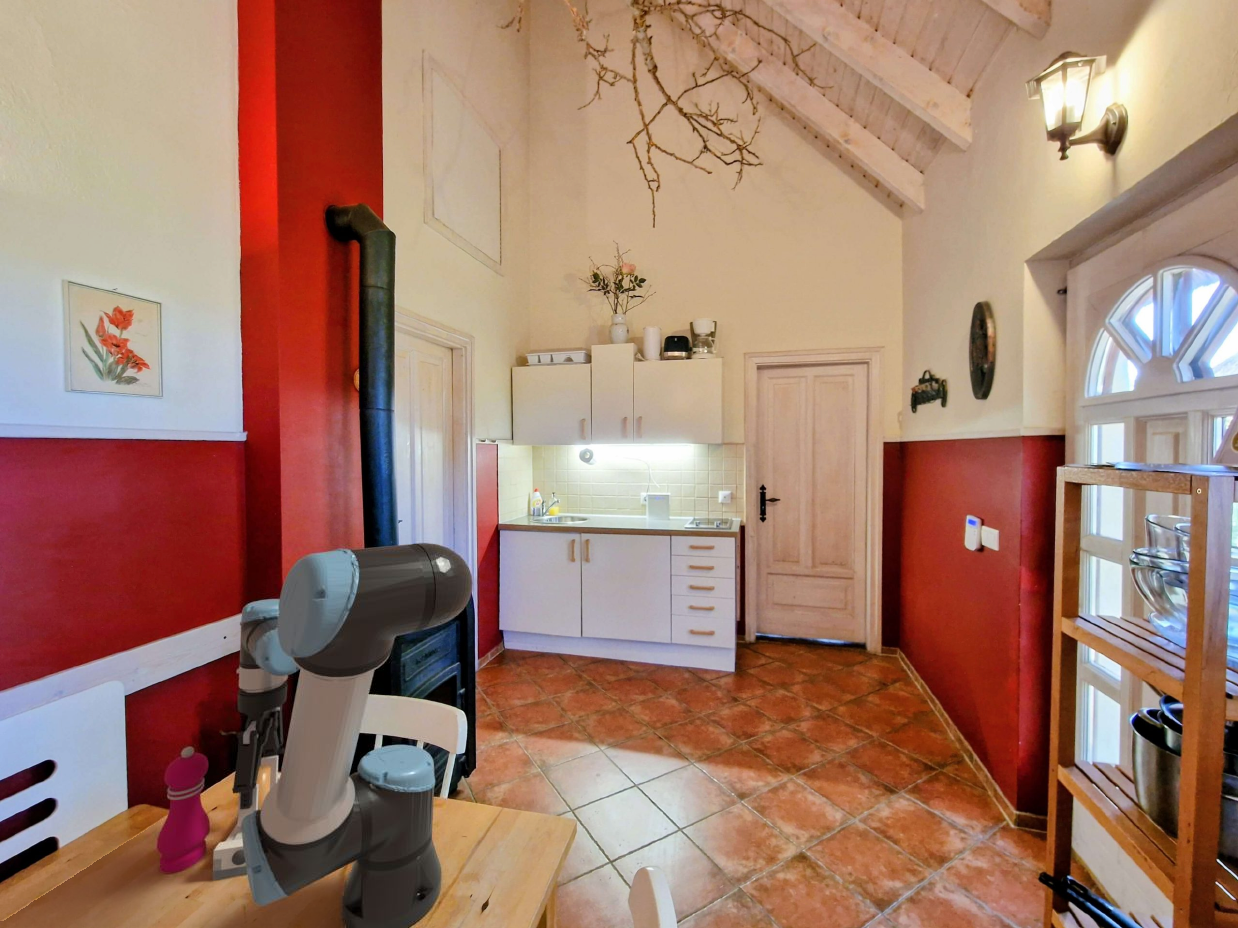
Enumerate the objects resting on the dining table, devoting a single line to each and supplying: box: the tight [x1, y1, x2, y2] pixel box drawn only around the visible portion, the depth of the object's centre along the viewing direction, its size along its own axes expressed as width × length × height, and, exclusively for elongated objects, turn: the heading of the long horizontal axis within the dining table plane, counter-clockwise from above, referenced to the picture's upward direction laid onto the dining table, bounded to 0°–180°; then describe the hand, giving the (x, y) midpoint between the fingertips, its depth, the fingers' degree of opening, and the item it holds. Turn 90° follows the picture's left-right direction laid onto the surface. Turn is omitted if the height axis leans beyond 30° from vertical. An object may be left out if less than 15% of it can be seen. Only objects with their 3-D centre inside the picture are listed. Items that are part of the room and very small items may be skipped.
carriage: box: [234, 765, 271, 840], centre depth 93 cm, size 7×5×12 cm
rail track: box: [212, 772, 281, 881], centre depth 97 cm, size 23×8×5 cm, turn 16°
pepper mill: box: [156, 746, 211, 874], centre depth 90 cm, size 7×7×20 cm
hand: (258, 806), depth 93 cm, fingers open, 9 cm apart
